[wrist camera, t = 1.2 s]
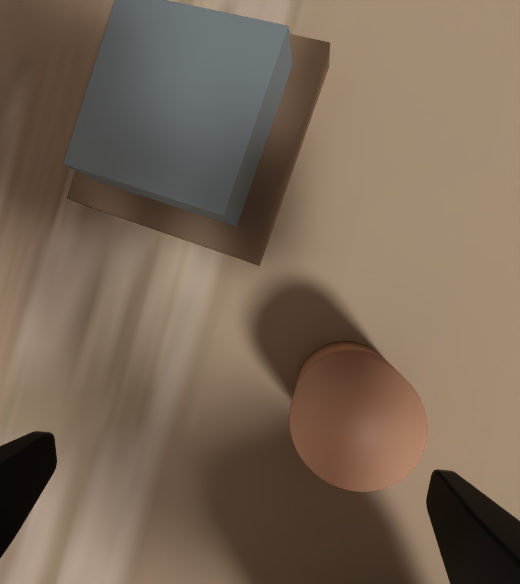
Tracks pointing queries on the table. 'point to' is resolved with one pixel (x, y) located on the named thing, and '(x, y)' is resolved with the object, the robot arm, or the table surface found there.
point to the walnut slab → (266, 183)
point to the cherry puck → (356, 418)
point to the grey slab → (181, 105)
